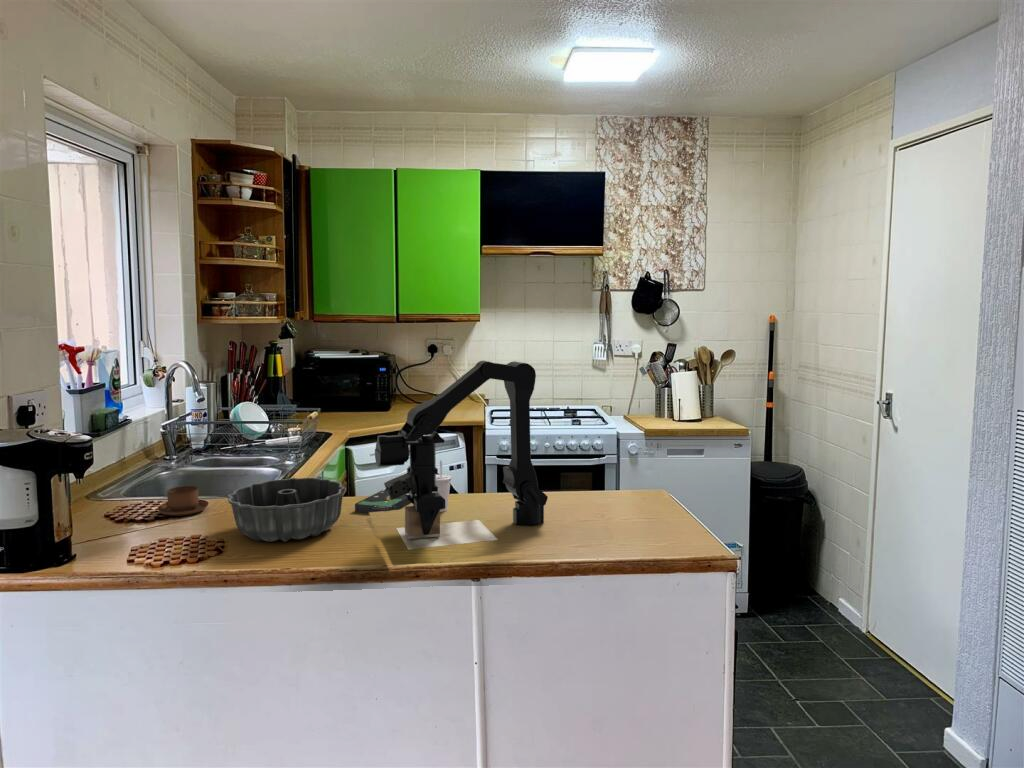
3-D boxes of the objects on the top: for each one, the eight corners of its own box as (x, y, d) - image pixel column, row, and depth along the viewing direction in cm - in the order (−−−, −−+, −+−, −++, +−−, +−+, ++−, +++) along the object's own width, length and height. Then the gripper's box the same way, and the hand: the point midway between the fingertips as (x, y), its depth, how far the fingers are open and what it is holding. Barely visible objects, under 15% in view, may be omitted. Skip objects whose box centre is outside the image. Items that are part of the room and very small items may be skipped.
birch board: (478, 524, 180) (478, 519, 179) (497, 544, 164) (497, 539, 164) (396, 533, 173) (396, 528, 173) (408, 554, 158) (408, 549, 158)
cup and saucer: (147, 517, 189) (146, 493, 188) (182, 504, 200) (180, 482, 199) (185, 521, 185) (184, 497, 184) (218, 508, 196) (217, 485, 195)
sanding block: (435, 529, 171) (435, 504, 170) (440, 536, 166) (440, 510, 165) (404, 532, 168) (404, 506, 168) (408, 538, 164) (408, 512, 163)
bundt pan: (245, 558, 157) (243, 512, 156) (217, 527, 179) (215, 487, 178) (362, 536, 172) (361, 494, 171) (323, 510, 194) (322, 472, 193)
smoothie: (450, 517, 185) (450, 463, 184) (425, 517, 186) (424, 463, 184) (453, 510, 192) (452, 457, 190) (428, 510, 192) (427, 457, 190)
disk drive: (381, 500, 205) (354, 513, 191) (381, 490, 205) (354, 503, 191) (415, 502, 202) (390, 517, 188) (415, 492, 202) (390, 506, 188)
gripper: (380, 457, 172) (382, 522, 173) (393, 474, 154) (394, 547, 156) (428, 454, 175) (428, 518, 177) (445, 471, 158) (446, 542, 159)
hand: (423, 531), depth 167 cm, fingers closed on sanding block, 5 cm apart
